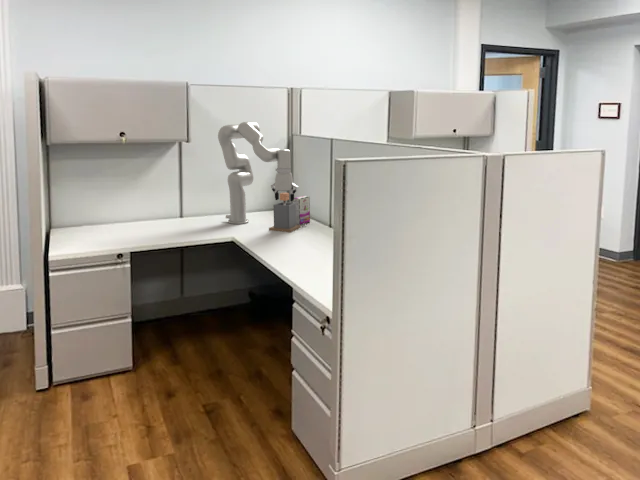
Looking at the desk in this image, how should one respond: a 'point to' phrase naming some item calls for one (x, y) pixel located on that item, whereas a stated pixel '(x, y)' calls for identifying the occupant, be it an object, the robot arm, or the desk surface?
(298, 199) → the candy bar box
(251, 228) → the desk surface
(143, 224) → the desk surface
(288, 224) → the press housing
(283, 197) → the plunger
